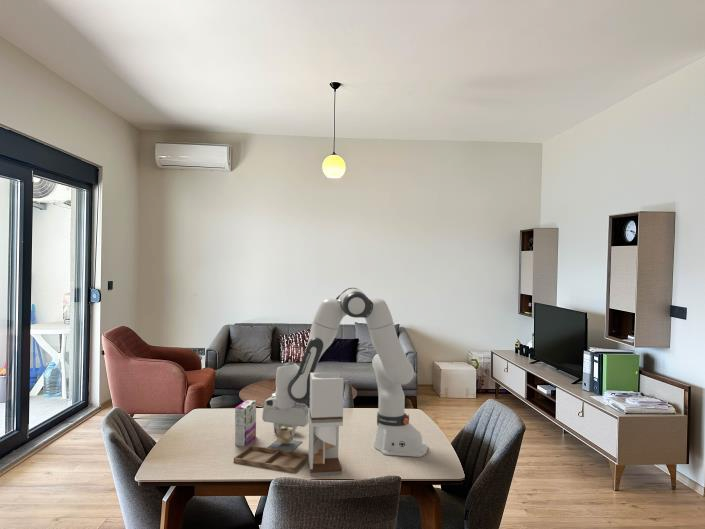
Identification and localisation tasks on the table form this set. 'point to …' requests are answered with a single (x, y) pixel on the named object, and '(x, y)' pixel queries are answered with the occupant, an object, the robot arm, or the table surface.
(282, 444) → the gray mat
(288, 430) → the maple block
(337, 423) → the display case
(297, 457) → the walnut organizer
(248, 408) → the candy bar box
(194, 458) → the table surface
